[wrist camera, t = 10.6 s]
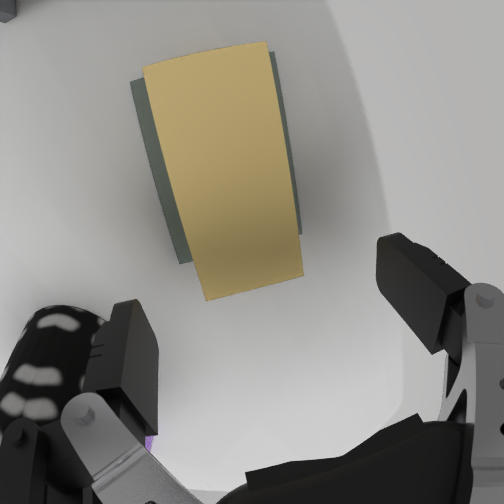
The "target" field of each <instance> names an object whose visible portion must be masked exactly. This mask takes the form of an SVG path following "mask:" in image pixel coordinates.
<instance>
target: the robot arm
mask: <svg viewBox="0 0 504 504" xmlns="http://www.w3.org/2000/svg"><path fill="white" fill-rule="evenodd" d="M376 281H377V285H378V288H379V290H380V292H381V293H382V295H383V296H384V297H385V298H386V299H387V301H388V302H389V303H390V304H391V305H392V306H393V308H394V309H395V310H396V311H397V312H398V314H399V315H400V316H401V317H402V318H403V320H404V321H405V322H406V323H407V324H408V326H409V327H410V328H411V329H412V331H413V332H414V333H415V334H416V336H417V337H418V338H419V339H420V341H421V342H422V343H423V344H424V346H425V347H426V348H427V349H428V351H429V352H430V353H431V354H432V355H433V354H435V353H437V352H439V351H440V350H443V349H445V350H446V352H447V355H446V358H445V369H444V382H443V394H442V403H441V409H440V413H439V416H438V419H437V421H430V422H423V421H422V420H421V418H420V416H419V415H418V413H416V414H414V415H412V416H411V417H408V418H406V419H404V420H402V421H400V422H397V423H395V424H393V425H391V426H388V427H386V428H384V429H382V430H379V431H378V432H377V433H375V434H374V435H373V436H371V437H370V438H368V439H367V440H365V441H364V442H363V443H361V444H360V445H358V446H357V447H355V448H354V449H352V450H351V451H349V452H348V453H346V454H344V455H343V456H340V457H335V458H326V459H316V460H303V461H290V462H286V463H282V464H279V465H275V466H271V467H267V468H262V469H258V470H254V471H249V472H245V475H246V480H247V483H246V484H244V485H241V486H239V487H238V488H236V489H234V490H233V491H231V492H229V493H228V494H227V495H226V496H224V497H223V498H221V499H220V500H219V501H218V502H217V503H216V504H504V294H503V293H502V292H501V290H499V289H498V288H497V287H495V286H493V285H490V284H486V283H475V284H471V283H470V282H469V281H467V280H466V279H465V278H464V277H463V276H462V275H460V274H459V273H458V272H457V271H456V270H454V269H453V268H452V267H451V266H450V265H448V264H446V263H445V261H444V260H442V259H441V258H440V257H438V256H437V255H436V254H435V253H434V252H432V251H431V250H430V249H429V248H427V247H425V246H422V245H420V244H417V243H413V242H412V241H410V240H409V239H408V238H407V237H405V236H404V235H403V234H401V233H399V232H398V233H394V234H390V235H387V236H383V237H380V238H379V239H378V241H377V260H376ZM92 347H93V348H92V349H91V353H90V359H89V361H88V365H87V369H86V373H85V378H84V382H83V387H82V391H81V394H80V395H78V396H76V397H74V398H73V399H71V400H70V401H69V402H68V403H67V404H66V406H65V407H64V409H63V411H62V414H61V419H59V420H57V421H54V422H51V423H49V424H46V425H44V426H41V427H39V426H38V425H37V424H36V423H35V422H34V421H33V420H31V419H30V418H26V417H22V418H18V419H16V420H14V421H13V422H11V423H10V424H9V425H8V427H7V428H6V430H5V431H4V434H3V437H2V441H1V445H0V504H43V500H44V486H45V484H47V485H48V492H47V504H92V488H93V490H94V492H95V493H96V495H97V496H98V498H99V499H100V500H101V502H102V503H103V504H203V503H202V502H201V501H200V500H199V499H198V498H197V497H195V496H194V495H193V494H192V493H191V492H190V491H189V490H188V489H186V488H185V487H184V486H183V485H182V484H181V483H180V482H179V481H178V480H177V479H176V478H175V477H174V476H173V475H172V474H171V473H170V472H169V471H168V470H167V469H166V468H165V467H164V466H163V465H162V464H161V463H160V462H159V461H158V460H157V459H156V458H155V457H154V456H153V455H152V454H151V453H150V452H149V451H148V450H147V449H146V448H145V437H147V436H155V435H158V359H159V349H158V344H157V340H156V337H155V334H154V332H153V330H152V328H151V326H150V324H149V322H148V319H147V317H146V315H145V313H144V311H143V309H142V306H141V304H140V302H139V301H138V300H137V299H133V300H129V301H125V302H121V303H117V304H114V306H113V310H112V314H111V318H110V321H107V322H104V323H103V324H102V325H101V327H100V328H99V330H98V331H97V332H96V334H95V337H94V341H93V345H92Z"/></svg>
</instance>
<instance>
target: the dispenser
mask: <svg viewBox="0 0 504 504" xmlns="http://www.w3.org/2000/svg"><path fill="white" fill-rule="evenodd" d="M14 17H16V7H15V0H0V22H3V23H6V22H7V21H9V20H11V19H12V18H14Z"/></svg>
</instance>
